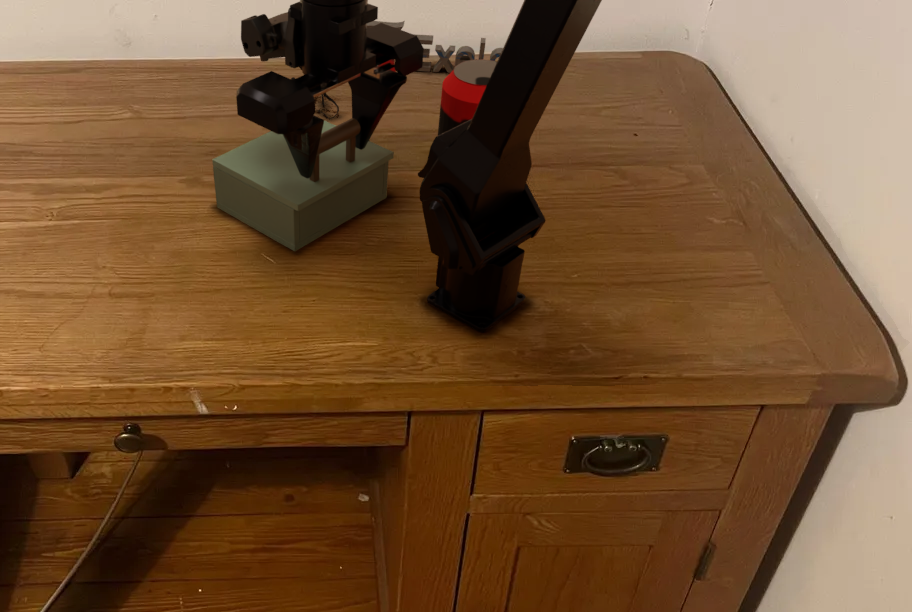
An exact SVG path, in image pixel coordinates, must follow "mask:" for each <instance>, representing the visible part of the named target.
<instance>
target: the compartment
mask: <svg viewBox="0 0 912 612" xmlns="http://www.w3.org/2000/svg"><path fill="white" fill-rule="evenodd" d="M389 162H390V160H389V161H388V162H386V163H384V164H382V165H380V166H379V167H377V168H375V169H373V170H371V171H370V172H368V173H366V174H364V175H362V176H361V177H359V178H357V179H355V180H354V181H352V182H350V183H348V184H346V185H345V186H343V187H341V188H339V189H337V190H336V191H334V192H332V193H330V194H328V195H327V196H325V197H323V198H321V199H319V200H318V201H316V202H314V203H312V204H311V205H309V206H307V207H305V208H303V209H302V210H300V211H297V210H295V209H293V208H291V207H289V206H287V205H285V204H283V203H282V202H280V201H278V200H276V199H274V198H272V197H270V196H269V195H267V194H265V193H263V192H261V191H259V190H257V189H256V188H254V187H252V186H250V185H248V184H246V183H244V182H242V181H241V180H239V179H237V178H235V177H233V176H231V175H229V174H228V173H226V172H224V171H222V170H220V169H218V168H216V167H215V166H213V165H212V172H213V180H214V183H213V184H214V193H215V201H216V202H215V203H216V208H217V209H219V210H221V211H223V212H225V213H226V214H228V215H229V216H231V217H233V218H235V219H237V220H238V221H240V222H242V223H243V224H245V225H247V226H249V227H250V228H253V230H256V231H258V232H259V233H261V234H263V235H265V236H267V237H268V238H271V239H272V240H273V241H275V242H277V243H279V244H280V245H282V246H284V247H285V248H288V249H289V250H291V251H293V252H297V251H299V250H301V249H302V248H303V247H306V246H307V245H309V244H311V243H313V242H315V240H317V239H319V238H321V237H322V236H324V235H325V234H327V233H329V232H331V231H332V230H334V229H336V228H338V227H340V226H341V225H342V224H344V223H346V222H348V221H350V220H352V219H353V218H354V217H356V216H358V215H360V214H362V213H364V212H365V211H367V210H369V209H370V208H371V207H374V206H375V205H376V204H378V203H381V202H382V201H383V200H385V199H387V196H388V181H389V180H388V179H389Z"/></svg>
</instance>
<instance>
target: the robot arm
mask: <svg viewBox="0 0 912 612" xmlns="http://www.w3.org/2000/svg"><path fill="white" fill-rule="evenodd" d="M602 1H603V0H523V2H522V4H521V7H520V9H519V11H518V13H517V16H516V18H515V20H514V23H513V25H512V27H511V30H510V32H509V34H508V36H507V39H506V41H505V43H504V45H503V47H502V48H503V50H502V52H501V54H500V57H498V58H497V61H496V62H497V63H496V66H495V68H494V70H493V72H492V75H491V77H490V79H489V82H488V84H487V86H486V88H485V91H484V93H483V95H482V97H481V100H480V102H479V104H478V106H477V109H476V111H475V113H474V116H473V118H472V119H471V120H469V121H467V122H465V123H463V124H461V125H459V126H457V127H455V128H453V129H451V130H449V131H447V132H445V133H443V134H441V135H439V136H438V135H437V136H435V137H434V139H433V140H432V143H431V145H430V147H429V150H428V151H429V152H428V157H427V160H426V162H425V164H424V166H423V168H422V169H420V171H419V172H417V177H419V178H421V179H422V181H421V183H420V187H419V201H420V202H421V208H422V212H423V218H424V222H425V228H426V233H427V239H428V244H429V249H430V252H431V253H432V254H433V255H435V256H437V264H436V273H435V287H436V288H437V289H436V290H433V292H431V293H429V294H428V295H427V296H426V303H427V304H428V305H430V306H432V307H434V308H436V309H437V310H439V311H441V312H443V313H444V314H446V315H448V316H449V317H451V318H453V319H455V320H457V321H459V322H460V323H462V324H464V325H466V326H468V327H470V328H472V329H474V330H475V331H477V332H478V333H486V332H487V331H489V330H490V329H491V328H493V327H494V326H495V325H497V324H498V323H499V322H501V321H503V319H505V318H506V317H507V316H508V315H510V314H511V313H512V312H514V311H515V310H516V309H517V308H519V307H521V306H522V305H523V304H524V303H525V302H526V295H525V294H523V293H522V292H520V291H519V285H520V279H521V273H522V268H523V262H524V257H525V252H526V251H525V249H523V248H521V247H519V246H520V245H521V244H523V243H525V242H526V241H528V240H529V239H534V237H537V235H538V234H539V232H540V231H541V229H542V227H544V225H545V223H546V217H545V215H544V214H543V212H542V210H541V208H540V206H539V204H538V202H537V200H536V198H535V196H534V195H533V193H532V191H531V189H530V187H529V185H528V183H527V181H528V178H529V175H530V172H531V169H532V166H533V165H532V163H533V161H532V155H531V146H530V141H531V138H532V136H533V134H534V132H535V130H536V128H537V126H538V124H539V123H540V120H541V118H542V116H543V115H544V113H545V110H546V109H547V107H548V106H549V105H548V104H549V103H550V101H551V99H552V97H553V95H554V93H555V91H556V89H557V88H558V86H559V84H560V82H561V80H562V78H563V76H564V74H565V73H566V70H567V68H568V67H569V64H570V63H571V61H572V58H574V55H575V53H576V51H577V49H578V46H579V45H580V43H581V41H582V39H583V38H584V36H585V33H586V32H587V30H588V29H589V26H590V24H591V22H592V21H593V18H594V16H595V14H596V12H597V11H598V9H599V7H600V5H601V3H602ZM378 13H379V7H378V6H376V5H373V4H371V3H369V0H299V1H297V2H295V3H292V4H290V5H289V8H288V10H287V12H283V13H280V14H277V15H275V16H272V17H270V18H269V17H268V16H267V15H266V13H263V14H259V15H256V14H255V15H252V16H249V17H246V18H244V19H241V20H240V40H241V44H242V48H243V51H244V53H245V54H246V55H247V56H248V57H249V58H253V57H254V58H255V57H259V59H260V61H261V62H262V63H263V62H264V63H265V62H268V61H269V60H271V59H281V58H284V64H285V65H284V66H287V67H289V68H292V69H297V68H299V67H300V68H302V70H301V73H302V75H301V76H298V77H296V78H295V79H294V80H291V78H289V77H287V76H285V75H282V74H280V73H277V72H275V71H272V70H271V71H268V72H265V73H264V74H261V75H259V76H257V77H254V78H252V79H250V80H247V81H246V82H243V83H242V84H241V85H240V86H239V87H238V88H237V89H236V94H235V95H236V97H235V99H236V112H237V113H236V114H237V116H239V117H241V118H243V119H246V120H248V121H250V122H252V123H254V124H256V125H257V126H260V127H262V128H264V129H266V130H268V131H269V132H270V131H272V132H274V133H276V134H282V135H283V136H284V138H285V140H286V143H287V145H288V147H289V150H290V152H291V154H292V157H293V159H294V161H295V164H296V166H297V168H298V171H299V173H300V175H301V176H303V177H305V178H307V179H308V178H310V177H311V175H312V172H313V169H314V166H315V161H316V156H317V152H318V147H319V142H320V138H321V133H322V129H323V124H324V120H325V119H324V118H321V117H319V116H318V115H315V113H316V99H315V98H317V97H319V96H321V95H322V94H324V93H326V94H327V92H330V91H332V90H334V89H337V88H339V87H340V86H342V85H345V84H348V86H349V87H350V91H351V118H354V119H356V120H357V121H358V122H359V124H360V128H361V129H360V133H359V134H358V135H356V143H355V147H356V148H358V149H360V150H362V149H364V148H365V147H366V145H367V143H368V141H370V140H371V137H372V136H373V135H374V132H375V131H376V129H377V127H378V126H379V123H380V121H381V119H382V118H383V116H384V114H385V113H386V111H387V110H388V108H389V106H390V105H391V103H392V102H393V100H394V98H395V97H396V95H397V93H398V92H399V91H400V89H401V87H402V86H403V85H405V84H406V83H407V81H408V77H407V76H408V75H411V74H413V73H415V72H418V71H417V70H419V69H421V68H422V64H423V62H424V58H423V51H424V46H423V44H421V43H420V41H419V39H418V37H417V36H416V35H417V34H415V35H413V34H414V33H411V32H408V31H405V30H402V29H401V30H400V29H397V28H394V27H391V26H389V25H386V24H383V23H380V24H377V25H375V26H373V27H370V28H368V29H367V23H370V22H372V21H377V20H378V18H379V17H378V16H379V15H378ZM300 68H299V69H300Z"/></svg>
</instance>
